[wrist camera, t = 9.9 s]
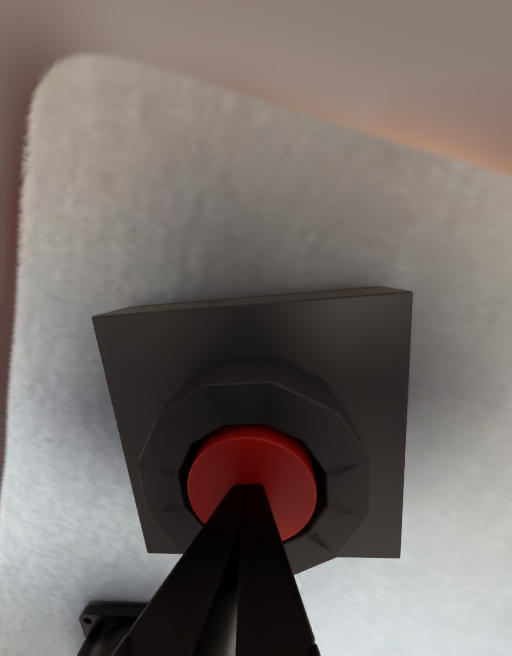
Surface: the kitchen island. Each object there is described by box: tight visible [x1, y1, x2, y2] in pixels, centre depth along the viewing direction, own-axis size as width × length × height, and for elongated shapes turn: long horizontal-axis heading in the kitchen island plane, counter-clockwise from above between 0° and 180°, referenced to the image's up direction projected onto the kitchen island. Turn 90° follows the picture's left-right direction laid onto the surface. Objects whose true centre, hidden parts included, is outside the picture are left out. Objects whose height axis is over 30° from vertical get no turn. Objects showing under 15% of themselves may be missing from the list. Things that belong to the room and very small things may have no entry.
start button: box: [187, 424, 317, 541], centre depth 8 cm, size 4×4×2 cm
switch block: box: [92, 286, 413, 575], centre depth 9 cm, size 10×10×4 cm
